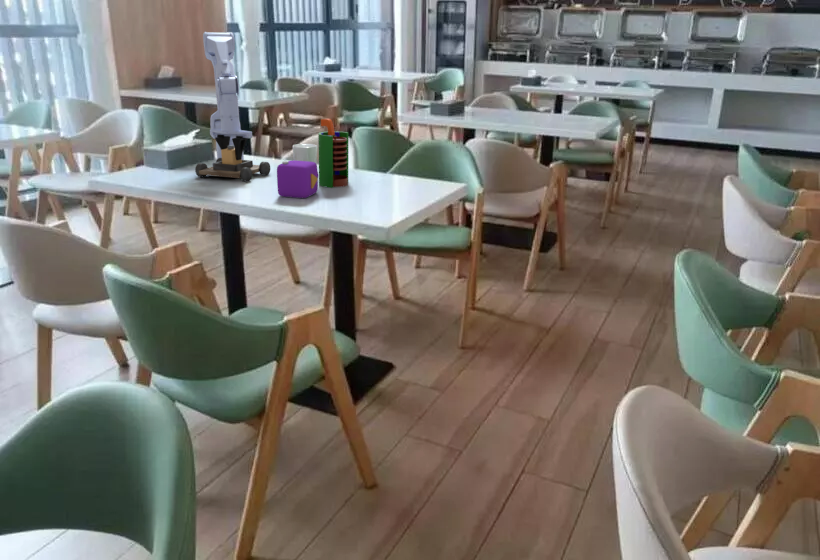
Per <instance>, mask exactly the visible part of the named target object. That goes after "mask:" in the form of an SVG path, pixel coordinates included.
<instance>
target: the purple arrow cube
mask: <svg viewBox="0 0 820 560" xmlns="http://www.w3.org/2000/svg"><path fill="white" fill-rule="evenodd" d="M276 178H277V179H276V180H277V181H276V183H277V193H278V195H279V196H280V197H286V198H293V199H294V198H296V199H307V198H308V197H311V196H313V195H314V194H316V193H317V192H318V189H319V187H318V186H319V170H318V163H317V164H316V163H314V162H309V161H295V160H294V159H293V160H287V161H286V160H285V161H282V162H281V163H280V164H278V165H277V167H276Z"/></svg>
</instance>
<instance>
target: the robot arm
mask: <svg viewBox="0 0 820 560" xmlns="http://www.w3.org/2000/svg"><path fill="white" fill-rule="evenodd" d="M202 41H203V49H204V56H205V59H207V60H209V61H211V65H212V67H213V73H214V75H213V76H214V85H215V95H216V96H215V97H216V104H217V105H216V106H217V110H216V111H215V112H214V113H212V114H211V115H210V129H209V136H211V138H212V139H214V140H215V147H216V160H217V159H218V158H222V154H221V150H222V149H226V148H228V146H229V145H233V146H234V148H235V156H236V160H241V159H242V160H245V157H244V148H245V145H246V143H247V141H248V139H251V138H253V131H250V130H242V129H241V122H240V114H239V98H238V97H239V94H240V85H239V79H238V76H237V75H236V74H235V69H234V65H233V63H232V62H231V60H233V59H234V56H235V47H236V46H235V44H236V43H235V36H234V33H233V32H231V31H230V32H215V31H214V32H213V31H212V32H208V31H204V32H203V33H202ZM212 166H213V163H212Z"/></svg>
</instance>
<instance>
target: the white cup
mask: <svg viewBox="0 0 820 560" xmlns="http://www.w3.org/2000/svg"><path fill="white" fill-rule="evenodd" d="M292 155H293V160H295V161H309V162H314V163H316V164H317V165H318V163H317V162H318V145H317V144H314V143H297V144H293V145H292Z"/></svg>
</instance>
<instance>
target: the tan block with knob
mask: <svg viewBox="0 0 820 560" xmlns="http://www.w3.org/2000/svg"><path fill="white" fill-rule="evenodd" d="M221 154H222V164H231V165H237V164H240V163H242V159H241V160H236V156H235V148H234V146H233V145H229V146H228V148H226V149H222V150H221Z"/></svg>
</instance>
